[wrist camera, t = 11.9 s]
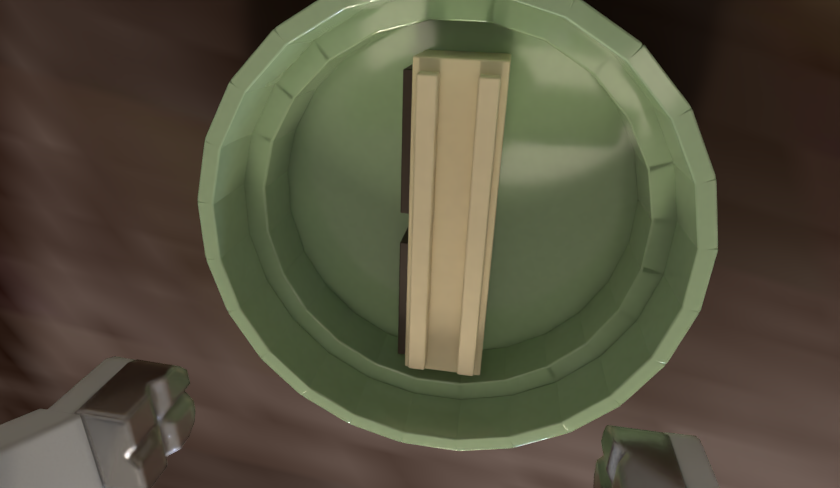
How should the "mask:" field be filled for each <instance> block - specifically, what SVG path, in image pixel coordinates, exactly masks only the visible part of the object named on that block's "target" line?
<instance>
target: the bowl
mask: <svg viewBox="0 0 840 488" xmlns="http://www.w3.org/2000/svg"><path fill="white" fill-rule="evenodd" d="M425 50H445V51H466V52H487V53H508V54H511V64H510V74H509V85H508V95H507V105H506V115H505V126H504V136H503V146H502V157H501V167H500V177H499V187H498V198H497V208H496V218H495V228H494V239H493V249H492V259H491V269H490V280H489V290H488V300H487V311H486V321H485V331H484V341H483V351H482V362H481V372H480V375H473V376H467V375H460V374H457V372H449V371H441V370H433V369H426V368H425V369H424V370H421V369H413V368H409V367H408V366H405V354H399V353H398V318H399V265H400V242H401V240H402V238H403V236H404V234H405V232H406V230H407V228H408V224H409V214H407V213H401V212H400V211H401V158H402V104H403V69H405V68H407V67H408V66H410V65H412V64H413V56H415V55H417V54H419V53H421V52H423V51H425ZM715 178H716V175H715V172H714V169H713V166H712V164H711V161H710V158H709V155H708V152H707V149H706V146H705V144H704V141H703V138H702V135H701V132H700V129H699V126H698V124H697V121H696V118H695V115H694V112H693V110H692V109H691V105H690V104H689V103H688V101H687V100H686V99H685V98H684V96H683V95H682V94H681V92H680V91H679V90H678V88H677V87H676V86H675V84H674V83H673V82H672V80H671V79H670V78H669V76H668V75H667V74H666V72H665V71H664V70H663V68H662V67H661V66H660V64H659V63H658V62H657V60H656V59H655V58H654V56H653V55H652V54H651V53H650V51H649V50H648V49H647V47H646V46H645V45H643V44H642V42H641V41H639V40H638V39H636V38H635V37H634V36H632V35H631V34H629V33H628V32H627V31H625V30H624V29H622V28H621V27H620V26H618V25H617V24H615V23H614V22H613V21H611V20H610V19H608V18H607V17H606V16H604V15H603V14H601V13H600V12H599V11H597V10H596V9H594V8H593V7H592V6H590V5H589V4H587V3H586V2H585V1H583V0H317V1H315V2H314V3H312V4H310V5H309V6H307V7H306V8H304V9H303V10H301V11H300V12H298V13H296V14H295V15H293V16H292V17H290V18H289V19H287V20H286V21H284V22H282V23H281V24H279V25H278V26H276V28H275V29H273V30H272V31H271V32H270V33H269V35H268V36H267V37H266V38H265V39H264V41H263V42H262V43H261V44H260V45H259V47H258V48H257V49H256V50H255V51H254V53H253V54H252V55H251V56H250V57H249V58H248V60H247V61H246V62H245V63H244V64H243V66H242V67H241V68H240V69H239V70H238V72H237V73H236V74H235V75H234V76H233V78H232V79H231V81H230V82H229V83H228V86H227V88H226V90H225V93H224V95H223V98H222V100H221V102H220V105H219V107H218V109H217V112H216V114H215V116H214V119H213V121H212V123H211V126H210V128H209V131H208V133H207V135H206V138H205V142H204V150H203V158H202V166H201V175H200V183H199V192H198V209H199V216H200V222H201V229H202V236H203V243H204V250H205V256H206V258H207V263H208V265H209V268H210V270H211V273H212V275H213V277H214V280H215V282H216V285H217V287H218V289H219V292H220V294H221V297H222V299H223V302H224V304H225V306H226V309H227V311H229V314H230V316H231V317H232V319H233V320H234V321H235V323H236V324H237V326H238V327H239V328H240V330H241V331H242V333H243V334H244V335H245V337H246V338H247V340H248V341H249V342H250V344H251V345H252V347H253V348H254V349H255V351H256V352H257V354H258V355H259V356H260V357H261V359H262V360H263V361H264V362H265V363H266V364H267V365H269V366H270V367H271V368H272V369H273V370H274V371H275V372H276V373H277V374H278V375H279V376H281V377H282V378H283V379H284V380H285V381H286V382H287V383H288V384H289V385H290V386H291V387H293V388H294V389H295V390H296V391H297V392H298V393H299V394H300V395H302V396H304V397H305V398H307V399H309V400H310V401H312V402H314V403H315V404H317V405H319V406H320V407H322V408H324V409H325V410H327V411H329V412H330V413H332V414H334V415H335V416H337V417H339V418H340V419H342V420H344V421H345V422H347V423H350V424H351V425H354V426H357V427H359V428H362V429H365V430H368V431H371V432H373V433H376V434H379V435H382V436H385V437H387V438H390V439H393V440H396V441H399V442H401V441H402V442H403V443H408V444H415V445H422V446H428V447H435V448H442V449H449V450H457V451H467V450H486V449H505V448H513V447H518V446H522V445H526V444H529V443H533V442H537V441H541V440H544V439H548V438H552V437H555V436H559V435H563V434H567V433H568V432H572V431H574V430H576V429H578V428H580V427H581V426H583V425H585V424H587V423H589V422H591V421H593V420H595V419H596V418H598V417H600V416H602V415H604V414H606V413H608V412H610V411H612V410H613V409H615V408H617V407H619V406H620V405H621V404H623V403H624V402H625V401H626V400H627V399H629V398H630V397H631V396H632V395H633V394H634V393H635V392H636V391H637V390H639V389H640V388H641V387H642V386H643V385H644V384H645V383H646V382H647V381H648V380H650V379H651V378H652V377H653V376H654V375H655V374H656V373H657V372H658V371H660V370H661V369H662V368H663V367H664V366H665V364H666V363H667V362H668V361H669V359H670V358H671V356H672V355H673V353H674V351H675V350H676V348H677V347H678V345H679V344H680V342H681V341H682V339H683V337H684V336H685V334H686V333H687V331H688V330H689V328H690V326H691V325H692V323H693V322H694V320H695V319H696V317H697V316H698V314H699V311H700V310H701V307H702V303H703V300H704V297H705V293H706V290H707V286H708V283H709V279H710V276H711V272H712V269H713V265H714V262H715V258H716V255H717V251H718V218H717V180H716V179H715Z"/></svg>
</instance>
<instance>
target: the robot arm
mask: <svg viewBox="0 0 840 488" xmlns="http://www.w3.org/2000/svg"><path fill="white" fill-rule="evenodd" d="M189 384H190V381H189V377H188V373H187V370H186V369H184V368H182V367H180V366H173V365H167V364H161V363H155V362H149V361H143V360H133V359H127V358H121V357H116V356H114V357H111V358H107V359H105V360H104V361H103V362H102V363H101V364H99V365H98V366H97V367H96V368H95V369H94V370H93V371H91V372H90V373H89V374H88V375H87V376H86V377H85V378H83V379H82V380H81V381H80V382H79V383H78V384H76V385H75V386H74V387H73V388H72V389H71V390H70V391H68V392H67V393H66V394H65V395H64V396H63V397H62V398H60V399H59V400H58V401H57V402H56V403H55V404H54V405H52V406H51V407H50V408H49V409H48V410H46V409H38V410H36V411H33V412H31V413H28V414H26V415H24V416H21V417H19V418H16V419H14V420H11V421H9V422H6V423H4V424H1V425H0V488H151V487H152V486H153V485H154V483H155V482H156V481H157V479H158V478H159V477H160V475H161V474H162V473H163V471H164V470H165V469H166V467H167V456H168V455H170V454H172V453H173V452H175V451H177V450H179V449H181V447H182V446H183V445H184V443H185V442H186V440H187V439H188V437H189V436H190V433H191V430H192V427H193V425H194V421H195V406H194V401H193V400H192V399H191V397H190V396H189V395H188V394H187V393H186V392H185V390H186V388H187V387H188V385H189ZM601 443H602V449H603V456H602V457H600V458H599V459H598V460H597V463H596V468H595V473H594V485H593V488H720V487H719V484H718V482H717V480H716V477H715V475H714V472H713V470H712V467H711V465H710V463H709V460H708V458H707V455H706V453H705V451H704V448H703V446H702V443H701V441H700V440H699V439H698V438H697V437H696V436H692V435H683V434H675V433H667V432H666V433H663V432H655V431H648V430H640V429H632V428H625V427H617V426H609V425H607V426H606V428H605V430H604V432H603V436H602V440H601Z"/></svg>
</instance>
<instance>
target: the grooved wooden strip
mask: <svg viewBox="0 0 840 488" xmlns="http://www.w3.org/2000/svg"><path fill="white" fill-rule="evenodd" d="M510 64H511V54H508V53H487V52H466V51H445V50H425V51H423V52H421V53H419V54H417V55H415V56H413V64H412V65H410V66H408V67H407V68H405V69H403V104H402V158H401V211H400V212H401V213H407V214H409V224H408V228H407V230H406V232H405V234H404V236H403V238H402V240H401V242H400V265H399V318H398V353H399V354H405V366H408V367H409V368H413V369H421V370H424V369H425V368H426V369H433V370H441V371H449V372H457V374H460V375H467V376H473V375H480V372H481V362H482V351H483V341H484V331H485V321H486V311H487V300H488V290H489V280H490V269H491V259H492V249H493V239H494V228H495V218H496V208H497V198H498V187H499V177H500V167H501V157H502V146H503V136H504V126H505V115H506V105H507V95H508V85H509V74H510Z"/></svg>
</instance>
